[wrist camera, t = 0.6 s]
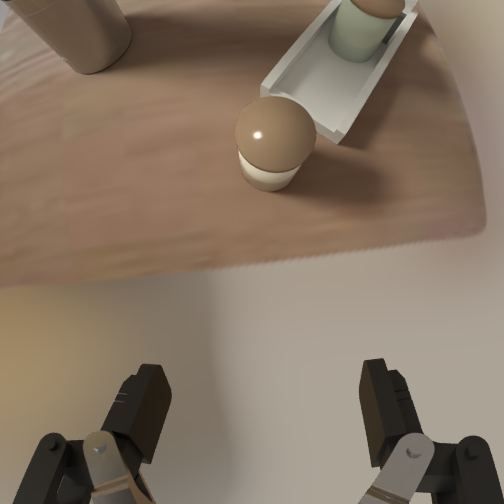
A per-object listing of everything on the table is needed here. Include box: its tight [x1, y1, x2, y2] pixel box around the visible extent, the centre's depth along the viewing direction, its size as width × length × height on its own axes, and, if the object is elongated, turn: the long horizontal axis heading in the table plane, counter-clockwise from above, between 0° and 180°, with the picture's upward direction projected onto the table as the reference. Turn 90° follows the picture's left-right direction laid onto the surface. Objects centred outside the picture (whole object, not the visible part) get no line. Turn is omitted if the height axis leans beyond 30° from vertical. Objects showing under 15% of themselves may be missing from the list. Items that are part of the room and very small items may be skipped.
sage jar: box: [328, 0, 405, 63], centre depth 25 cm, size 6×6×10 cm
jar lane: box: [260, 0, 418, 144], centre depth 27 cm, size 24×10×7 cm, turn 147°
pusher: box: [382, 12, 406, 44], centre depth 26 cm, size 5×7×6 cm
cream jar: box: [235, 96, 316, 192], centre depth 26 cm, size 6×6×10 cm
